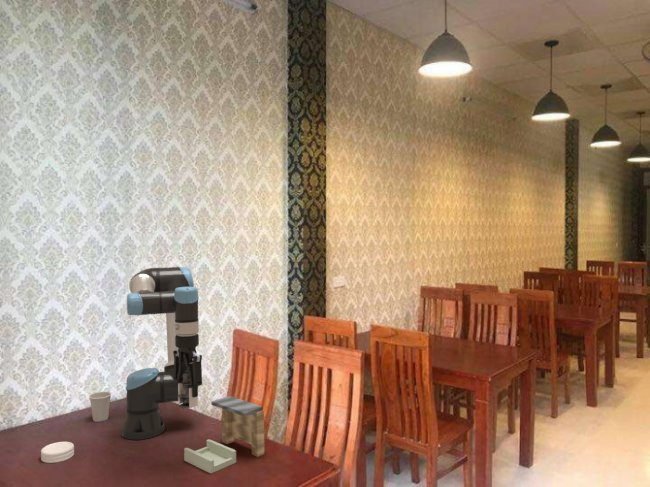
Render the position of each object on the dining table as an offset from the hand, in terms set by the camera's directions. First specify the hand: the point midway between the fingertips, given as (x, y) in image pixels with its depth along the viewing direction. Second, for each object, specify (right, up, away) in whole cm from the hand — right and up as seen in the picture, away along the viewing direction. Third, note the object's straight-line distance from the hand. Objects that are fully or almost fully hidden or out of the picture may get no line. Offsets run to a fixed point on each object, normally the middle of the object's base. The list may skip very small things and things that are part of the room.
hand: (188, 404), depth 170 cm
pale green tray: (+7, -19, +1) cm, 21 cm away
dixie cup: (-46, -19, +40) cm, 64 cm away
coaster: (-46, -20, +6) cm, 50 cm away
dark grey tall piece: (0, -1, 0) cm, 1 cm away
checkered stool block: (+15, -19, +10) cm, 26 cm away
